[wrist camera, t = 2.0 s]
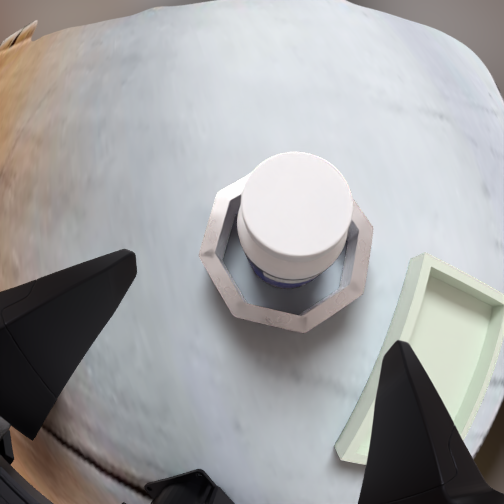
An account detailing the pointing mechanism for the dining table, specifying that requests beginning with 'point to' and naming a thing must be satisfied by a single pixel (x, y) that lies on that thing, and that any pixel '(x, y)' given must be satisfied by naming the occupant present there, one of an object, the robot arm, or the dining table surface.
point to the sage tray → (437, 345)
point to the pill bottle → (294, 218)
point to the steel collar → (213, 262)
